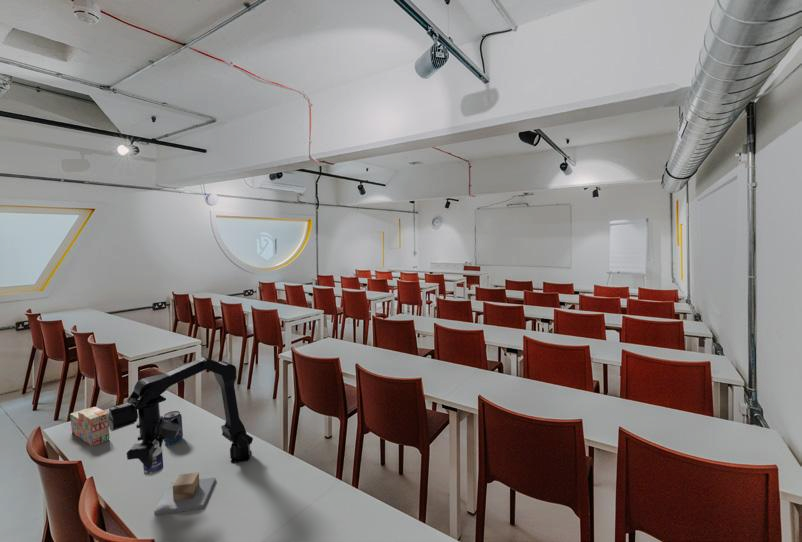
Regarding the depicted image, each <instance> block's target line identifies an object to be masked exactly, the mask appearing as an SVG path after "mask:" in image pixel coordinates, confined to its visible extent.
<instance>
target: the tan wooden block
mask: <svg viewBox="0 0 802 542" xmlns="http://www.w3.org/2000/svg"><path fill="white" fill-rule="evenodd" d="M199 479H200V472H192V473H191V472H190V473H182V474H179V475H178V477H177V479H176V480H175V481H174V482H175V483H174V482H173V483H174V485H173V500H174V501H175V500H182V499H190V498H194V496H195V494H196V492H197V490H198V488H199V486H200V484H199Z"/></svg>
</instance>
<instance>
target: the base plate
mask: <svg viewBox="0 0 802 542" xmlns="http://www.w3.org/2000/svg"><path fill="white" fill-rule="evenodd" d="M216 481H217V480H216V477H205V478H199V484H200V486H199V488H198V490H197V492H196V494H195V496H194V498H190V499H182V500H175V501H174V500H173V485H174V483H175V481H174V482H171V484H170V486H169V487H168V489H167V490H166V492H165V494H164V496H163V497H162V499H160V501H159V503H158V505H157V506H156V508H155V510H154V513H153V514H154V516H156V515H163V514H172V513H173V514H174V513H177V512H178V513H181V512H185V511H193V510H199V509H204V507H205V505H206V503H207V500H208V498H209V496H210V495H211V491H212V490H213V487H214V486H215V482H216Z"/></svg>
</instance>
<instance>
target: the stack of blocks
mask: <svg viewBox="0 0 802 542" xmlns="http://www.w3.org/2000/svg"><path fill="white" fill-rule="evenodd" d="M108 414H109V412H107V411H105V410H104V409H101V408H99V407H97V406H93V407H89V408H84V409H83V408H82V409H81V410H78V411H74V412H71V413H70V414H69V419H70V427H71V433H72V434H73V433H74V434H75V435H76V436H75V435H74V434H73V435H74V436H75V437H77V436H78V437H79V438H78V437H77V438H78V439H80V438H81V439H80V440H82V441H83V440H84V442H85V441H86V442H87V443H86V442H85V443H86V444H88V445H89V444H90V445H89V446H91V447H92V446H93V447H94V445H95V446H97V444H98V445H100V444H102V443H101V442H103V441H105V442H107V441H106V440H108V441H110V440H109V439H110V428H109V424H108V418H107V417H108ZM99 443H100V444H99ZM103 443H104V442H103Z"/></svg>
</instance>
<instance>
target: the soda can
mask: <svg viewBox="0 0 802 542" xmlns="http://www.w3.org/2000/svg"><path fill="white" fill-rule="evenodd" d="M163 417H164V421H165V420H170V421H172V420H173V419H174V418H175V417H179V418H180V421H181V425H182V426H181V428H180V430H179V433H178V435H177V436H176V438H175V439H173V440H170V439H168V438H165V439H164V440H163V442H164V443H165V444H166V445H168V444H171V445H176V444H177V443H180V440H181V441H182V439H183V436H184V432H183V431H184V430H183V417H182V414H181V412H180V411H179V410H174V411H169V412H167V413H165V414H164V415H163Z"/></svg>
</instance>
